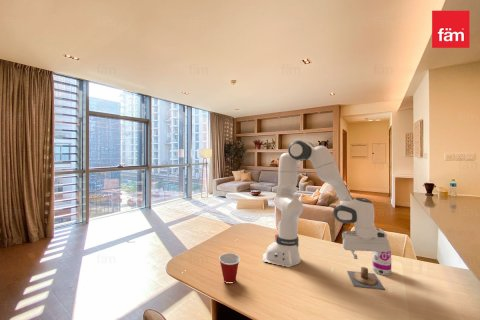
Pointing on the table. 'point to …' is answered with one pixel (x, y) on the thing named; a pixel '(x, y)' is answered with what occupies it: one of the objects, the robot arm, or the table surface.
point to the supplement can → (382, 263)
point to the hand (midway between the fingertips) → (365, 259)
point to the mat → (357, 284)
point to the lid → (364, 277)
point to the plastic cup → (229, 266)
